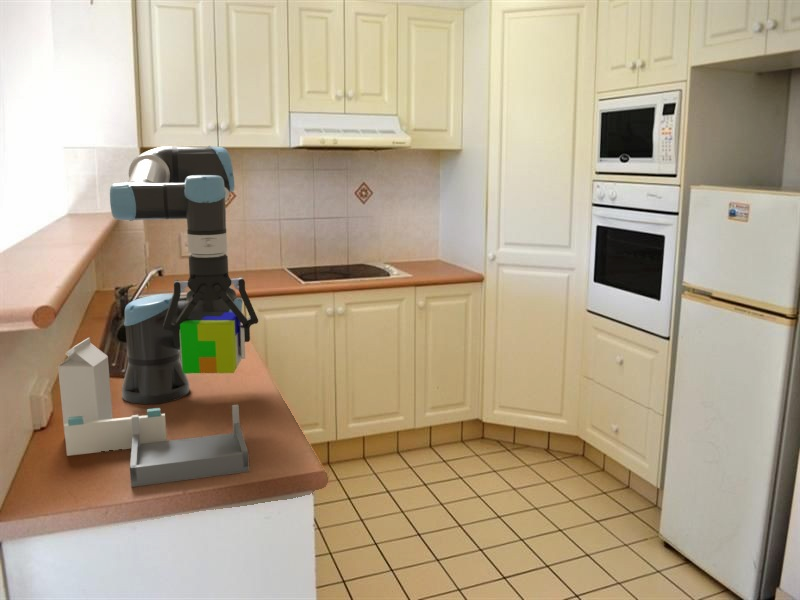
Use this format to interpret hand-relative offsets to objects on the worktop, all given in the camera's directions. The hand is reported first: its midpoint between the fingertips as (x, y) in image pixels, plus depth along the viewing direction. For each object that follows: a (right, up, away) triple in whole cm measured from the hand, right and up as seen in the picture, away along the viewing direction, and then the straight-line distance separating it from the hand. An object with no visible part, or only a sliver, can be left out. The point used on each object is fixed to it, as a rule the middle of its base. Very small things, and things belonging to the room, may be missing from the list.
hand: (213, 359), depth 146 cm
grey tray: (-1, -18, -13) cm, 22 cm away
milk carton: (-26, -15, 0) cm, 30 cm away
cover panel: (-16, -17, -8) cm, 25 cm away
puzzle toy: (0, -1, 0) cm, 1 cm away
